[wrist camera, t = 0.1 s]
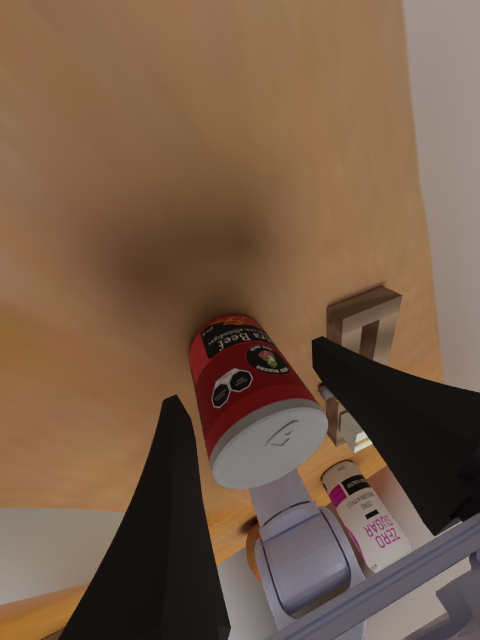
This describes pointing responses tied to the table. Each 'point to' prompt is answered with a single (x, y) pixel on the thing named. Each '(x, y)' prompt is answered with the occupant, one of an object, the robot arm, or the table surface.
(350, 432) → the rider
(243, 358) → the canned food
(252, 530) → the onion
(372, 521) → the supplement can
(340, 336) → the wooden slotted frame
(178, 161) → the table surface
